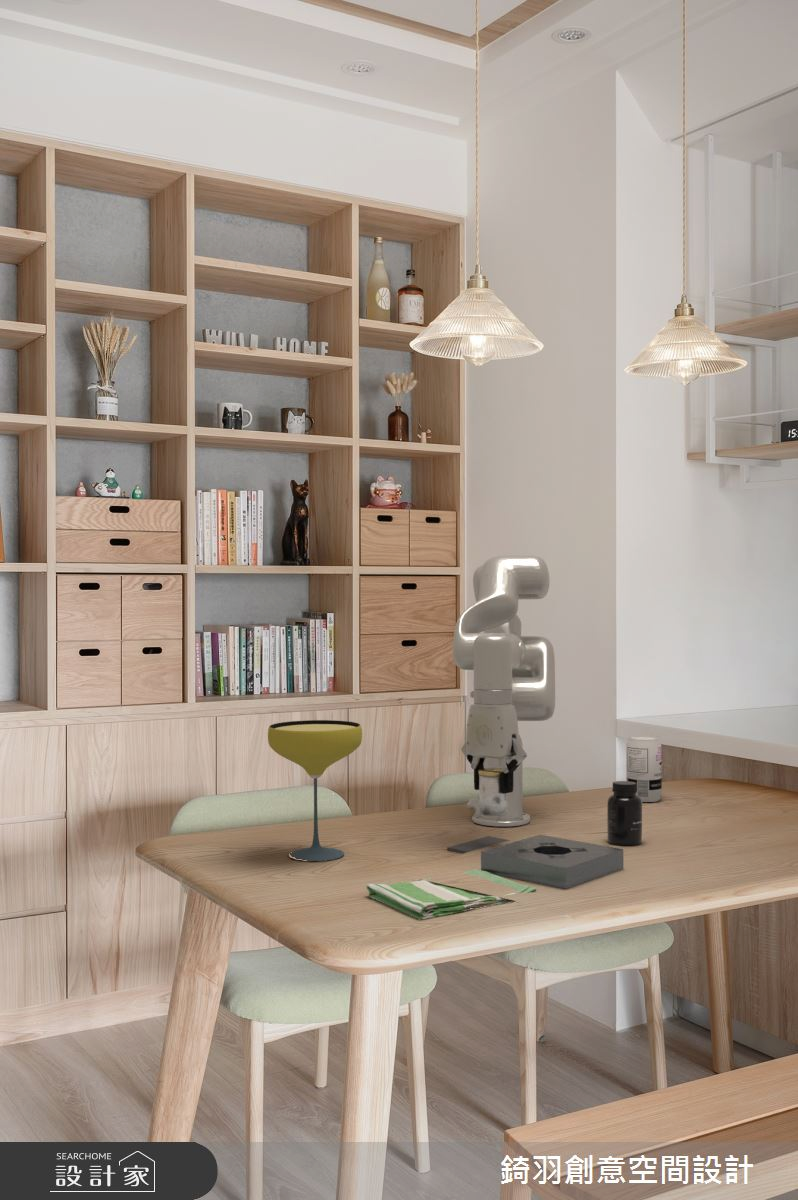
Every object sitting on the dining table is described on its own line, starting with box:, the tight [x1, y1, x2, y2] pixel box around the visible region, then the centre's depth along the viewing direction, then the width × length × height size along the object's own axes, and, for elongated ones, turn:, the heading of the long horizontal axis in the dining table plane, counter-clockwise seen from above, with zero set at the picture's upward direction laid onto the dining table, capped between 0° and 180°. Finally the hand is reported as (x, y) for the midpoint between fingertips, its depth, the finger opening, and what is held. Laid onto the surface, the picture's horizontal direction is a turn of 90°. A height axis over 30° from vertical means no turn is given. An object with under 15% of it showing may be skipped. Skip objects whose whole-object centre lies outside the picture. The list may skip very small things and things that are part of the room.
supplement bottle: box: [606, 780, 643, 847], centre depth 223 cm, size 7×7×12 cm
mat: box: [446, 835, 510, 854], centre depth 218 cm, size 13×13×1 cm
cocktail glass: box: [267, 719, 363, 862], centre depth 214 cm, size 18×18×25 cm
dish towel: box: [365, 868, 537, 920], centre depth 185 cm, size 18×23×3 cm
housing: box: [480, 834, 624, 890], centre depth 198 cm, size 18×18×4 cm
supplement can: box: [625, 735, 663, 803], centre depth 268 cm, size 8×8×15 cm
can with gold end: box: [478, 768, 508, 816], centre depth 218 cm, size 6×6×8 cm
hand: (493, 790), depth 218 cm, fingers closed on can with gold end, 5 cm apart
